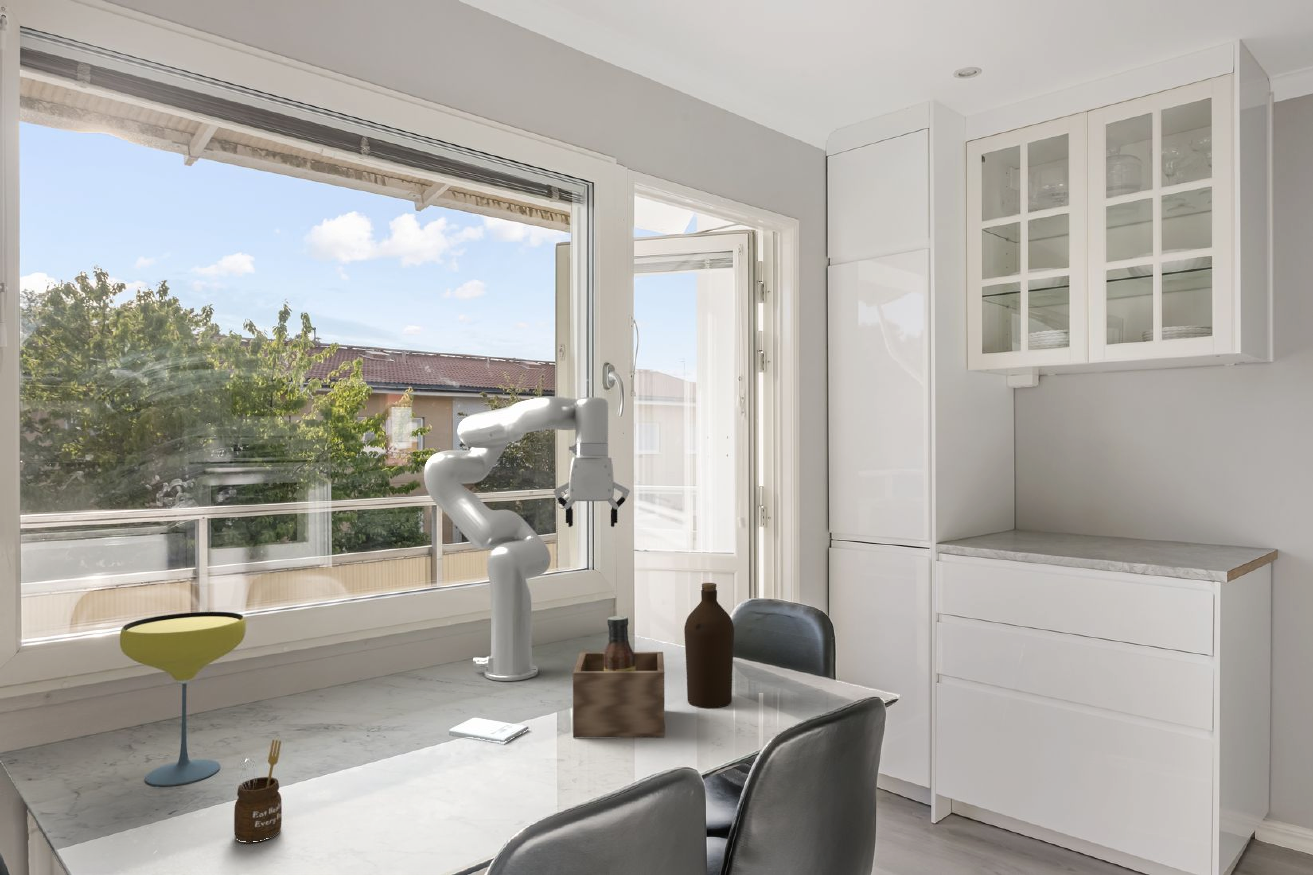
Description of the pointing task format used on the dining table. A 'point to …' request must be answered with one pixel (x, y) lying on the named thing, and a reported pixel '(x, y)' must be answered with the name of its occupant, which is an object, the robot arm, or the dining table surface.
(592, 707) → the walled box
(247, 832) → the utensil holder
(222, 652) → the cocktail glass
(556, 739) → the dining table surface
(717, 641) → the olive oil
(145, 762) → the dining table surface
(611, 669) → the sauce bottle
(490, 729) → the external hard drive
